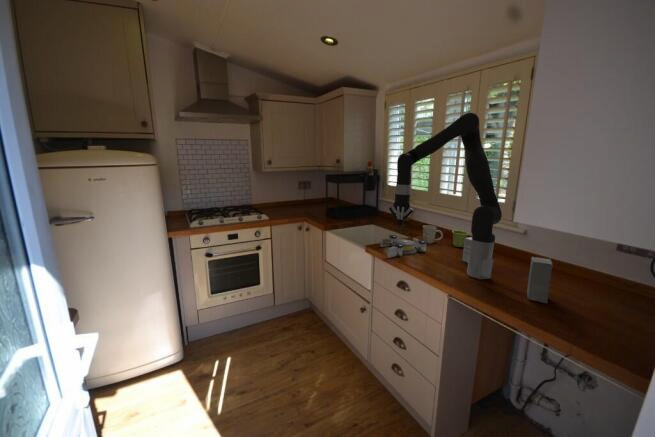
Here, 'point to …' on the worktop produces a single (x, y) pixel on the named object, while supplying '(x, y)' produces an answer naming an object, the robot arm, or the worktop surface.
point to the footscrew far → (388, 241)
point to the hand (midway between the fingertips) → (399, 225)
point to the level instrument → (407, 246)
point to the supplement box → (466, 249)
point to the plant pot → (459, 238)
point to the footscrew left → (395, 250)
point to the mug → (430, 233)
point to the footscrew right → (420, 245)
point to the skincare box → (539, 279)
